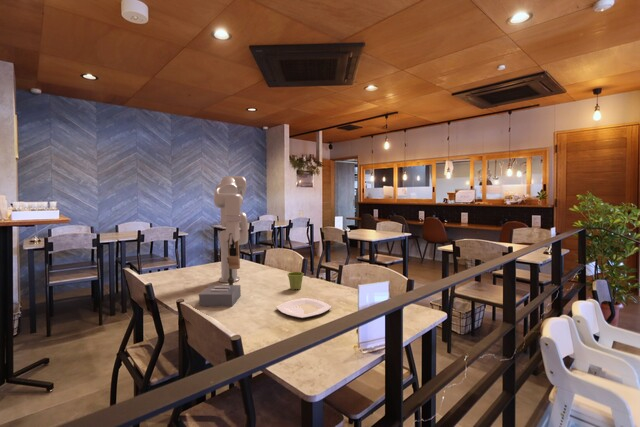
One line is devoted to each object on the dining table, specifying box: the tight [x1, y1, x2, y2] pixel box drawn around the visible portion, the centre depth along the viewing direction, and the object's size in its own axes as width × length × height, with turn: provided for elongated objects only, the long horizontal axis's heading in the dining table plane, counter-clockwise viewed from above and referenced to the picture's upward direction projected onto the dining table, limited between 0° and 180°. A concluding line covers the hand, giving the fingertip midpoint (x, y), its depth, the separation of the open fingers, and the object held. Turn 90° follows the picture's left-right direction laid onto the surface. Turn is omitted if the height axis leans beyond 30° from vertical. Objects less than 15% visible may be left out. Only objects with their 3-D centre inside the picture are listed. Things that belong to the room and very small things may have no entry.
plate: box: [275, 297, 333, 319], centre depth 159 cm, size 23×23×2 cm
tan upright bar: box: [228, 240, 241, 270], centre depth 170 cm, size 2×5×14 cm, turn 90°
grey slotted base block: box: [198, 284, 242, 308], centre depth 172 cm, size 16×16×7 cm
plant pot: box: [287, 271, 305, 290], centre depth 193 cm, size 9×9×9 cm
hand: (233, 255), depth 170 cm, fingers closed on tan upright bar, 2 cm apart
